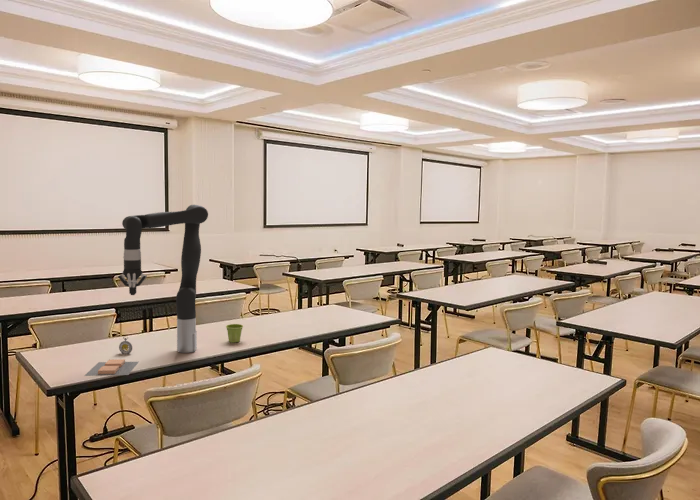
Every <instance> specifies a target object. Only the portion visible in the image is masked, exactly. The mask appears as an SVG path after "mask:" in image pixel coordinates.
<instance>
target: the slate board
mask: <svg viewBox="0 0 700 500" xmlns="http://www.w3.org/2000/svg"><path fill="white" fill-rule="evenodd" d="M106 362H107V361H99V362H97V363H96V364H95V365H94V366H93V367H92V368H91V369H90V370H89V371H88V372H86V373H85V374H84V377H87V376H90V377H93V376H129V375H130V374H131V373H132V371H133V370H134V369H135V368H136V367H137V365H138V364H139V362H140V361H125V363H124V364H123V365H122V367H119V370H118V371H117V372H116V373H115V374H98V370H99V369H100V368H101V367H102V366H105V363H106Z"/></svg>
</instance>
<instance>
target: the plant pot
mask: <svg viewBox="0 0 700 500" xmlns="http://www.w3.org/2000/svg"><path fill="white" fill-rule="evenodd" d="M225 328H226V331H227V336H228V342H229V343H231V344H233V343H234V344H235V343H239V342H241V336H242V330H243V328H244V325H242V324H239V323H230V324H226V325H225Z"/></svg>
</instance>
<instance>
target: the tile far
mask: <svg viewBox="0 0 700 500" xmlns="http://www.w3.org/2000/svg"><path fill="white" fill-rule="evenodd" d="M105 362H106V363H105V366H119V367H122V365H123V364H124V363H125V362H126V359H121V358H120V359H108V360H107V361H105Z"/></svg>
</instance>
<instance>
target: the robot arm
mask: <svg viewBox="0 0 700 500" xmlns="http://www.w3.org/2000/svg"><path fill="white" fill-rule="evenodd" d="M208 218H209V211H208V210H207V208H206V207H204V206H202V205H199V204H190V205H189V206H187V207H186V209H184V210H180V211H162V212H160V211H159V212H152V213H148V214H139V215H129V216H126V217H124V218H123V219H122V222H121V224H122V227H123V229H124V230H125V238H124V241H123V247H124V248H123V249H124V250H123V257H122V258H123V271H122V273H121V274H120V275H118V276H117V277H118V279H119V281H121V283H122V284H123V285H124V286H125V287H128V289H129V290H128V292H129V295H130V296H135V295H136V294H137V287H140V286H141V284H142V283H144V281H145V280H146V279H147V277H148V276H147V275H146V274H144V273H143V271H142V252H141V238H142V237H141V236H142V229H155V228H156V229H157V228H163V227H168V226H173V225H174V226H175V225H181V224H183V225H184V234H183V235H184V236H183V242H182V248H181V249H182V251H181V259H180V266H181V281H180V286H179V289H178V291H177V293H176V297H175V298H176V299H175V300H176V301H175V303H176V308H175V309H176V351H177V352H178V353H181V354H183V353H184V354H188V353H189V354H190V353H194V352H196V351H197V341H198V340H197V339H198V338H197V332H198V331H197V318H196V317H197V313H196V298H197V276H198V272H199V267H200V263H201V256H202V246H201V239H200V225H201V224H202V223H205V222H206V221H207V220H208ZM139 278H140V280H139ZM138 280H139V281H138Z"/></svg>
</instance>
